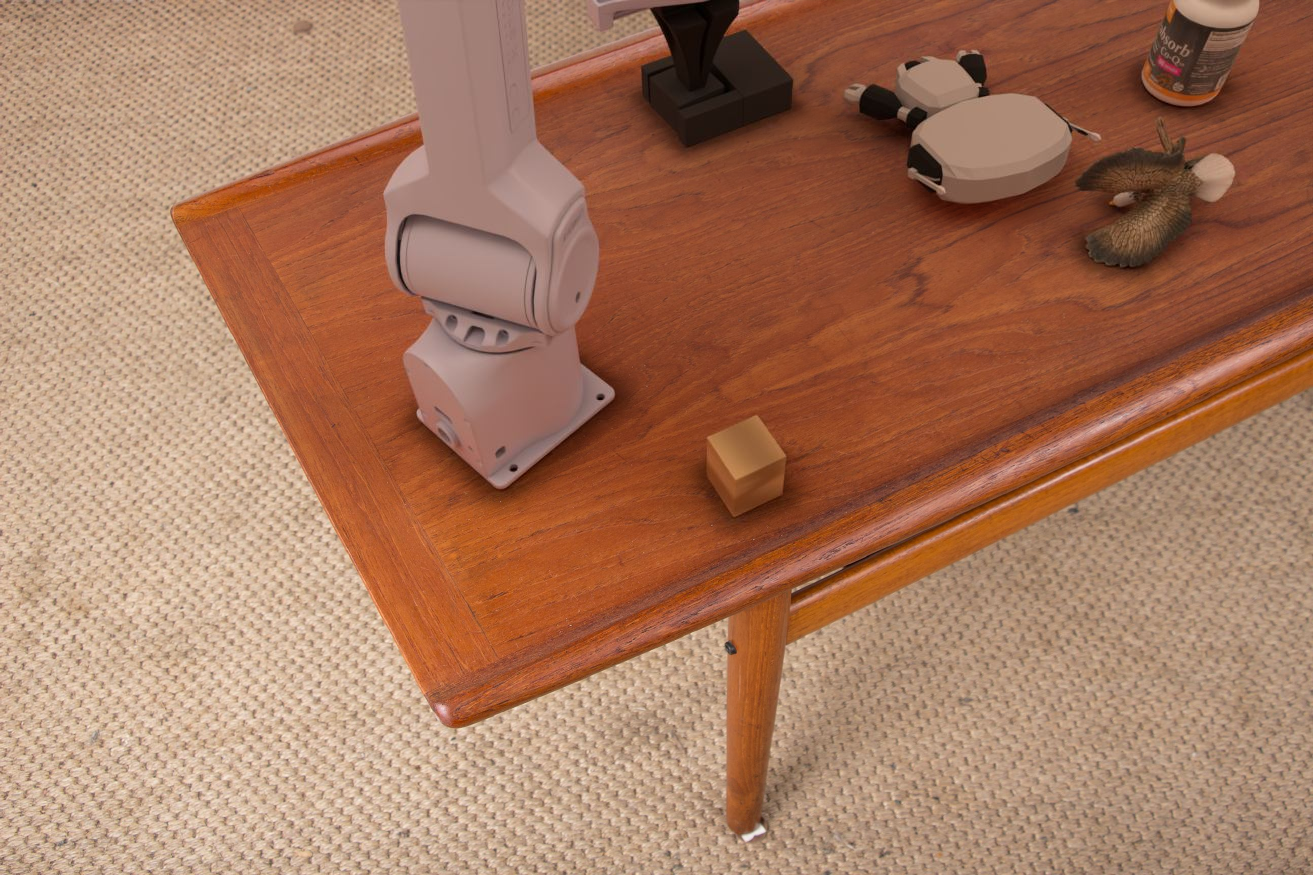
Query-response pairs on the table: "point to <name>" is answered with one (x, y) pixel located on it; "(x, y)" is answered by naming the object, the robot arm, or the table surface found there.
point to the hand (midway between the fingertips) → (691, 82)
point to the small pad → (678, 95)
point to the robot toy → (970, 130)
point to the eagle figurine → (1151, 197)
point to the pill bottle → (1196, 49)
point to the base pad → (731, 89)
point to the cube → (745, 465)
